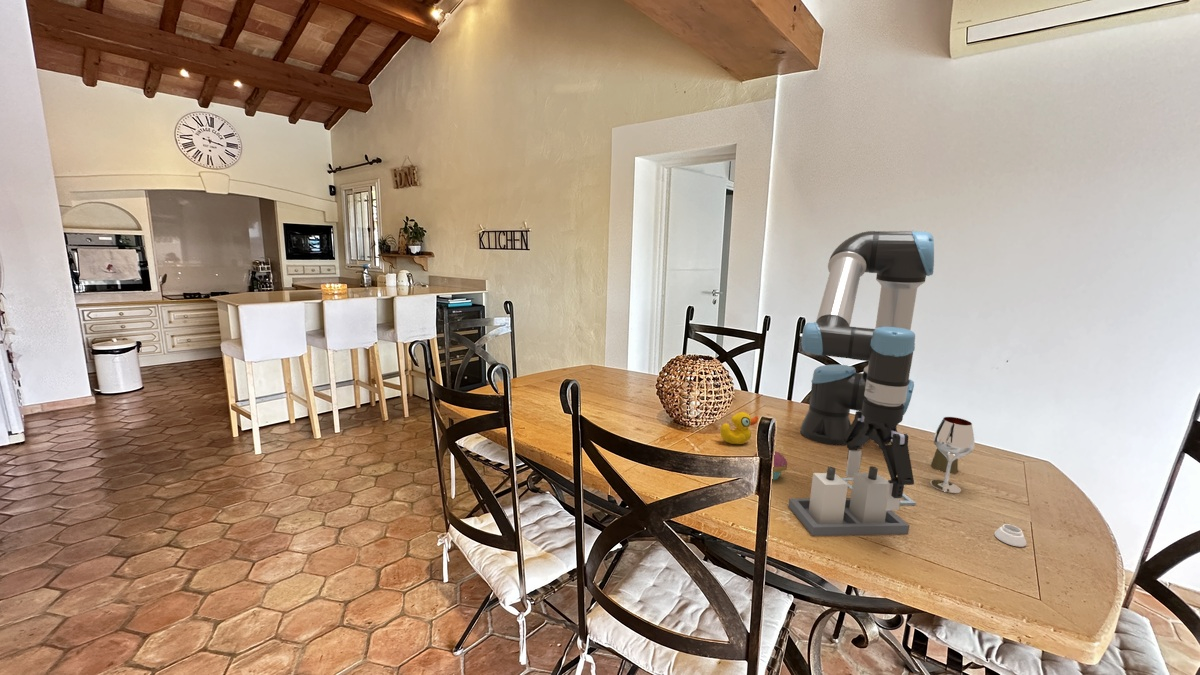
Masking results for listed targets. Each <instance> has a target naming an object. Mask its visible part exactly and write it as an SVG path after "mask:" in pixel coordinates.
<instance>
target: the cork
mask: <svg viewBox="0 0 1200 675" xmlns="http://www.w3.org/2000/svg"><path fill="white" fill-rule="evenodd" d="M958 461H959V458H958V459H955V460H954V461H953V462H952V464H951V469H950V474H957V473H958V471H959V470H958V469H959V468H958V466H959V462H958ZM947 464H948V460H947V458H946V457H945V456H944V455H943V454H942V453H941V452H940V451H939V450H938V448H937V447H936V450H935V453H934V455H933V458H932V461H931V465H930V466H931V467H932V468H933V467H934V468H933V469H935V470H937V471H939V470H940V472H942V471H943V473H946V469H947ZM956 472H957V473H956Z"/></svg>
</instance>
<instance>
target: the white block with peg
mask: <svg viewBox="0 0 1200 675" xmlns="http://www.w3.org/2000/svg"><path fill="white" fill-rule="evenodd" d="M878 472H879V468H878V467H876V466H872V465H871V466H869V469H868V472H859V473H854V477H852V478H853V480H852V485H851V486H852V490H851V494H850V498H851V500H850V507H849V512H850V513H851V514H852V515H853V516H854V517H855V518H856V519H857V520H858V521H859V522H860V523H861V524H862V523H885V518H886V510H884V509H883V508H884V501H885V495H886V489H887V483H888V480H887V479H886V478H885V477H883V476H881V475H879V474H878ZM886 480H887V481H886Z"/></svg>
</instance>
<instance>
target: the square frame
mask: <svg viewBox="0 0 1200 675" xmlns="http://www.w3.org/2000/svg"><path fill="white" fill-rule="evenodd" d="M840 478H841V479H842V480H844V481H845V482H846V483H847V484H848V489H850V490H851V491H852V485H851V484H850V483H849V481H853V478H854V477H840ZM885 480H886V481H888V479H885ZM901 499H903V500H900V504H899V506H916V505H917V502H916V501H914V500H913V498H910V497H909V496H908V495H906V494H905V493H904V492H903V495H902V498H901Z"/></svg>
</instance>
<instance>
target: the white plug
mask: <svg viewBox="0 0 1200 675" xmlns="http://www.w3.org/2000/svg"><path fill="white" fill-rule="evenodd" d="M836 469H837V468H835V467H833V466H827V469H826V472H814V473H812V480H811V489H810V495H809V496H810V497H809V498H810V504H809V512H808V513H809V515H810V516H811V517H812V518H813V519H814V520H815V522H816V523H817V524H843V517H844V509H845V502H846V498H847V494H848V489H849V487H848V484H847V483H846V482H845V481H846V480H845V481H844V480H842V479H841V478H842V477H840V476H839V475H838V474H837V472H836Z"/></svg>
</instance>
